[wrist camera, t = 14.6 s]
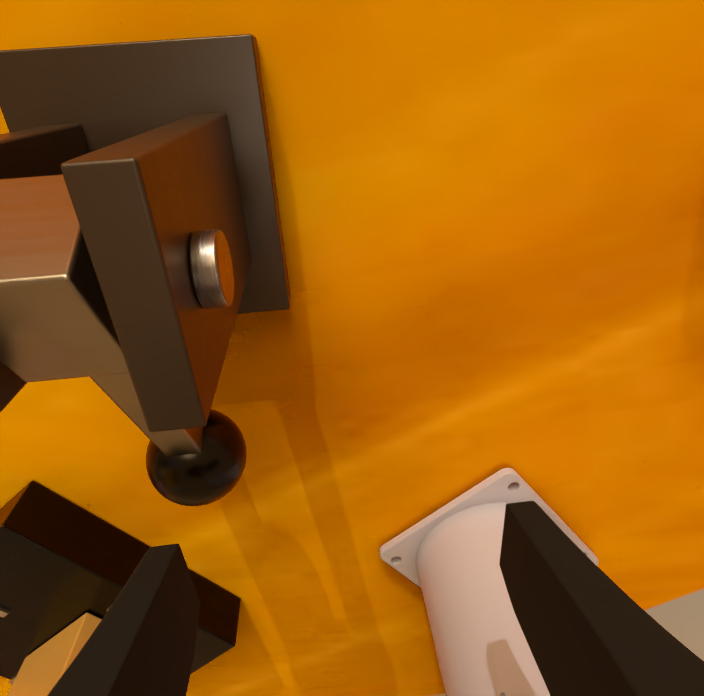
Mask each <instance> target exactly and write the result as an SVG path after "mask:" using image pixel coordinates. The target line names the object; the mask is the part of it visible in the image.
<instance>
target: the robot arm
mask: <svg viewBox="0 0 704 696" xmlns="http://www.w3.org/2000/svg"><path fill="white" fill-rule="evenodd" d="M511 483H513V484H511ZM510 484H511V485H510ZM379 553H380V558H381V559H382V560H383V561H385V562H386V563H387V564H389V565H390V566H391V567H393V568H394V569H395V570H397V571H398V572H400V573H401V574H402V575H404V576H405V577H406V578H408V579H409V580H410V581H412V582H413V583H415V584H416V585H417V586H419V587H420V588H421V589H422V593H423V598H424V602H425V606H426V611H427V615H428V619H429V624H430V628H431V632H432V637H433V641H434V645H435V650H436V654H437V658H438V663H439V667H440V671H441V676H442V680H443V685H444V689H445V693H446V696H704V661H703V660H701V659H700V658H699V657H697V656H696V655H695V654H694V653H692V652H691V651H690V650H689V649H688V648H686V647H685V646H684V645H683V644H682V643H681V642H679V641H678V640H677V639H676V638H675V637H674V636H672V635H671V634H670V633H669V632H668V631H666V630H665V629H664V628H663V627H662V626H661V625H660V624H658V623H657V622H656V621H655V620H654V619H653V618H652V617H651V616H650V615H648V614H647V613H646V612H645V611H644V610H643V609H642V608H641V607H639V606H638V605H637V604H636V603H635V602H634V601H633V600H632V599H631V598H630V597H629V596H628V595H627V594H625V593H624V592H623V591H622V590H621V589H620V588H619V587H618V586H617V585H616V584H615V583H614V582H613V581H612V580H611V579H610V578H609V577H608V576H607V575H606V574H605V573H604V572H603V571H602V570H600V569H599V568H598V567H597V565H598V563H599V560H598V559H597V557H596V555H595V554H594V553H593V552H592V551H591V550H590V549H589V548H588V547H587V546H586V544H585V543H584V542H583V541H582V540H581V539H580V538H579V537H578V536H577V535H576V534H575V533H574V532H573V531H572V530H571V529H570V528H569V527H568V526H567V525H566V523H565V522H564V521H563V520H562V519H561V518H560V517H559V516H558V515H557V514H556V513H555V512H554V511H553V510H552V509H551V508H550V507H549V506H548V505H547V504H546V503H545V501H544V500H543V499H542V498H541V497H540V496H539V495H538V494H537V493H536V492H535V491H534V490H533V489H532V488H531V487H530V486H529V485H528V484H527V483H526V482H525V481H524V479H523V478H522V477H521V476H520V475H519V474H518V473H517V472H516V471H515V470H514V469H512V468H503V469H501V470H499V471H497V472H496V473H494V474H493V475H491V476H490V477H488V478H486V479H485V480H483V481H482V482H480V483H479V484H477V485H476V486H474V487H472V488H471V489H469V490H468V491H466V492H465V493H463V494H462V495H460V496H458V497H457V498H455V499H454V500H452V501H451V502H449V503H447V504H446V505H444V506H443V507H441V508H440V509H438V510H437V511H435V512H433V513H432V514H430V515H429V516H427V517H426V518H424V519H422V520H421V521H419V522H418V523H416V524H415V525H413V526H412V527H410V528H408V529H407V530H405V531H404V532H402V533H401V534H399V535H398V536H396V537H394V538H393V539H391V540H390V541H388V542H387V543H385V544H383V545H382V546H381V547H380V549H379ZM199 610H200V600H199V597H198V595H197V592H196V589H195V586H194V584H193V581H192V578H191V576H190V573H189V570H188V567H187V565H186V562H185V559H184V556H183V554H182V551H181V548H180V546H179V544H172V545H164V546H155V547H150V548H149V549H148V550H147V552H146V553H145V555H144V556H143V558H142V559H141V561H140V562H139V564H138V566H137V567H136V569H135V570H134V572H133V573H132V575H131V576H130V578H129V580H128V581H127V583H126V584H125V586H124V587H123V589H122V590H121V592H120V593H119V595H118V596H117V598H116V599H115V601H114V602H113V604H112V605H111V607H110V608H109V610H108V611H107V613H106V614H105V616H104V617H103V619H102V620H101V622H100V623H99V625H98V626H97V627H96V629H95V630H94V632H93V633H92V635H91V636H90V638H89V639H88V640H87V642H86V643H85V645H84V646H83V648H82V649H81V651H80V652H79V653H78V655H77V656H76V658H75V659H74V660H73V662H72V663H71V664H70V666H69V667H68V668H67V670H66V671H65V672H64V674H63V675H62V676H61V678H60V679H59V680H58V682H57V683H56V684H55V686H54V687H53V688H52V690H51V691H50V692H49V694H48V695H47V696H186V692H187V687H188V683H189V678H190V673H191V669H192V664H193V659H194V654H195V647H196V638H197V630H198V620H199Z"/></svg>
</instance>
